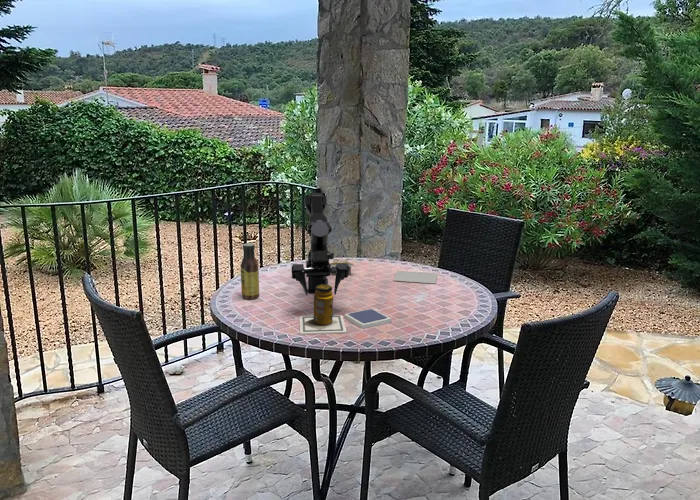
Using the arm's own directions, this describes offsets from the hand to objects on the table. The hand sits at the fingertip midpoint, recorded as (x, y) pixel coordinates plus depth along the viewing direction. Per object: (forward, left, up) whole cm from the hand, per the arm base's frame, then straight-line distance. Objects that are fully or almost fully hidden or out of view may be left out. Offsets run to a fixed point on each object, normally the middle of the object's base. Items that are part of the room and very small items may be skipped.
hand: (321, 294), depth 178 cm
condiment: (+2, -6, -8) cm, 10 cm away
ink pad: (+15, +3, -8) cm, 17 cm away
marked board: (+3, -6, -8) cm, 10 cm away
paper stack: (+17, +49, -9) cm, 53 cm away
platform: (-10, +48, -9) cm, 50 cm away
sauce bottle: (-31, +10, -8) cm, 34 cm away
